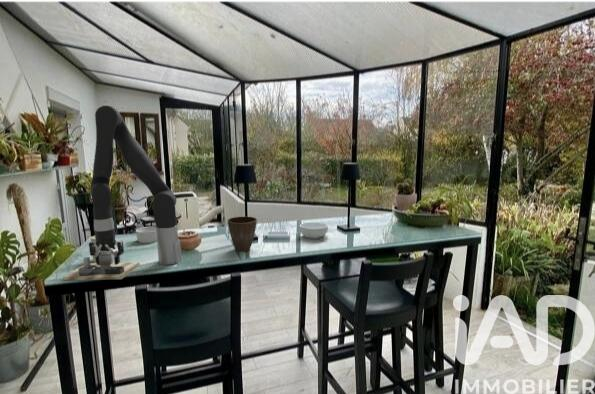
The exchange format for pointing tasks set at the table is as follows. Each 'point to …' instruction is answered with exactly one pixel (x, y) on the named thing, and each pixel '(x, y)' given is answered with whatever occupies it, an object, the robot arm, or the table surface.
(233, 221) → the plant pot
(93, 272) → the ratchet
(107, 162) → the robot arm
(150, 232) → the ramekin
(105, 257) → the grey pocketed block
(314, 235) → the cereal bowl
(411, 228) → the table surface
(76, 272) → the board
